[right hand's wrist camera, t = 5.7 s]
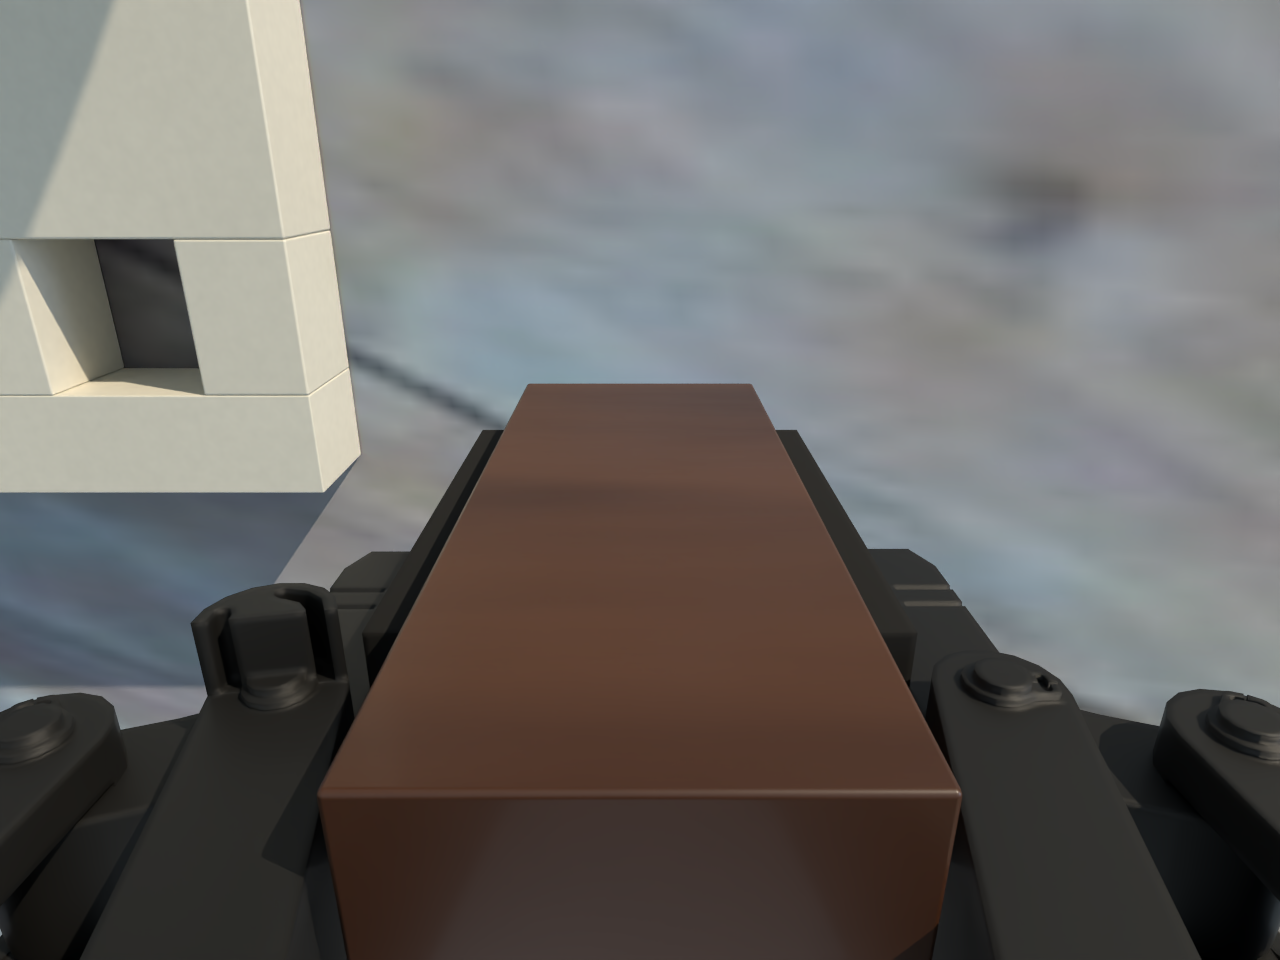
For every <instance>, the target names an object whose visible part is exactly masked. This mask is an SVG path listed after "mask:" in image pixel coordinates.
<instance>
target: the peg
mask: <svg viewBox="0 0 1280 960" xmlns="http://www.w3.org/2000/svg"><path fill="white" fill-rule="evenodd" d="M317 801H318V807H319V812H320V817H321V823H322V828H323V834H324V839H325V844H326V850H327V855H328V860H329V866H330V871H331V877H332V882H333V887H334V893H335V898H336V903H337V909H338V914H339V919H340V925H341V930H342V936H343V941H344V946H345V952H346V957H347V960H932V957H933V952H934V947H935V941H936V936H937V930H938V925H939V920H940V914H941V909H942V904H943V898H944V893H945V887H946V882H947V877H948V871H949V866H950V860H951V855H952V850H953V844H954V839H955V834H956V828H957V823H958V817H959V812H960V807H961V801H962V791H961V789H960V787H959V785H958V783H957V781H956V779H955V777H954V775H953V773H952V771H951V769H950V767H949V765H948V763H947V761H946V760H945V758H944V756H943V754H942V752H941V750H940V748H939V746H938V744H937V742H936V740H935V738H934V736H933V734H932V732H931V730H930V729H929V727H928V725H927V723H926V721H925V719H924V717H923V715H922V713H921V711H920V709H919V707H918V705H917V703H916V701H915V699H914V698H913V696H912V694H911V692H910V690H909V688H908V686H907V684H906V682H905V680H904V678H903V676H902V674H901V672H900V670H899V669H898V667H897V665H896V663H895V661H894V659H893V657H892V655H891V653H890V651H889V649H888V647H887V645H886V643H885V641H884V639H883V638H882V636H881V634H880V632H879V630H878V628H877V626H876V624H875V622H874V620H873V618H872V616H871V614H870V612H869V610H868V608H867V607H866V605H865V603H864V601H863V599H862V597H861V595H860V593H859V591H858V589H857V587H856V585H855V583H854V581H853V579H852V578H851V576H850V574H849V572H848V570H847V568H846V566H845V564H844V562H843V560H842V558H841V556H840V554H839V552H838V550H837V548H836V547H835V545H834V543H833V541H832V539H831V537H830V535H829V533H828V531H827V529H826V527H825V525H824V523H823V521H822V519H821V517H820V516H819V514H818V512H817V510H816V508H815V506H814V504H813V502H812V500H811V498H810V496H809V494H808V492H807V490H806V488H805V486H804V485H803V483H802V481H801V479H800V477H799V475H798V473H797V471H796V469H795V467H794V465H793V463H792V461H791V459H790V457H789V456H788V454H787V452H786V450H785V448H784V446H783V444H782V442H781V440H780V438H779V436H778V434H777V432H776V430H775V428H774V426H773V425H772V423H771V421H770V419H769V417H768V415H767V413H766V411H765V409H764V407H763V405H762V403H761V401H760V399H759V397H758V395H757V394H756V392H755V390H754V388H753V386H752V385H751V384H528V385H527V387H526V389H525V391H524V393H523V395H522V396H521V398H520V400H519V402H518V404H517V406H516V408H515V410H514V412H513V414H512V416H511V418H510V420H509V422H508V424H507V425H506V427H505V429H504V431H503V433H502V435H501V437H500V439H499V441H498V443H497V445H496V447H495V449H494V451H493V452H492V454H491V456H490V458H489V460H488V462H487V464H486V466H485V468H484V470H483V472H482V474H481V476H480V478H479V480H478V481H477V483H476V485H475V487H474V489H473V491H472V493H471V495H470V497H469V499H468V501H467V503H466V505H465V507H464V509H463V510H462V512H461V514H460V516H459V518H458V520H457V522H456V524H455V526H454V528H453V530H452V532H451V534H450V536H449V537H448V539H447V541H446V543H445V545H444V547H443V549H442V551H441V553H440V555H439V557H438V559H437V561H436V563H435V565H434V566H433V568H432V570H431V572H430V574H429V576H428V578H427V580H426V582H425V584H424V586H423V588H422V590H421V592H420V594H419V595H418V597H417V599H416V601H415V603H414V605H413V607H412V609H411V611H410V613H409V615H408V617H407V619H406V621H405V622H404V624H403V626H402V628H401V630H400V632H399V634H398V636H397V638H396V640H395V642H394V644H393V646H392V648H391V650H390V651H389V653H388V655H387V657H386V659H385V661H384V663H383V665H382V667H381V669H380V671H379V673H378V675H377V677H376V678H375V680H374V682H373V684H372V686H371V688H370V690H369V692H368V694H367V696H366V698H365V700H364V702H363V704H362V706H361V707H360V709H359V711H358V713H357V715H356V717H355V719H354V721H353V723H352V725H351V727H350V729H349V731H348V733H347V735H346V736H345V738H344V740H343V742H342V744H341V746H340V748H339V750H338V752H337V754H336V756H335V758H334V760H333V762H332V763H331V765H330V767H329V769H328V771H327V773H326V775H325V777H324V779H323V781H322V783H321V785H320V787H319V789H318V791H317Z"/></svg>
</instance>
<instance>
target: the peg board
mask: <svg viewBox="0 0 1280 960" xmlns="http://www.w3.org/2000/svg"><path fill="white" fill-rule="evenodd" d="M329 229H330V224H329V217H328V210H327V202H326V195H325V187H324V180H323V172H322V165H321V158H320V150H319V143H318V135H317V128H316V121H315V113H314V106H313V98H312V91H311V83H310V76H309V69H308V61H307V54H306V46H305V39H304V32H303V24H302V17H301V9H300V2H299V0H0V493H324V492H325V491H326V490H327V489H328V488H329V487H330V486H331V485H332V484H333V483H334V482H335V481H336V480H337V479H338V477H339V476H340V475H341V474H342V473H343V472H344V471H345V470H346V469H347V468H348V467H349V466H350V465H351V464H352V463H353V462H354V461H355V460H356V459H357V458H358V457H359V456H360V455H361V452H360V445H359V437H358V430H357V423H356V415H355V408H354V400H353V393H352V385H351V378H350V371H349V368H348V358H347V351H346V343H345V336H344V329H343V321H342V314H341V306H340V299H339V291H338V284H337V277H336V269H335V262H334V254H333V247H332V240H331V232H330V231H329ZM94 239H175V240H174V246H175V251H176V256H177V261H178V266H179V271H180V276H181V281H182V286H183V291H184V295H185V300H186V305H187V310H188V315H189V320H190V325H191V330H192V335H193V340H194V345H195V349H196V354H197V359H198V364H199V368H124V364H123V360H122V355H121V351H120V347H119V343H118V339H117V334H116V330H115V326H114V322H113V318H112V313H111V309H110V305H109V301H108V297H107V292H106V288H105V284H104V280H103V276H102V272H101V267H100V263H99V259H98V255H97V251H96V246H95V242H94Z"/></svg>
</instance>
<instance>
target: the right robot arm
mask: <svg viewBox="0 0 1280 960" xmlns="http://www.w3.org/2000/svg"><path fill="white" fill-rule="evenodd" d="M503 431H504V430H483V431H482V432H481V434H480V436H479V437H478V439H477V441H476V442H475V444H474V446H473V447H472V449H471V451H470V452H469V454H468V456H467V457H466V459H465V461H464V462H463V464H462V466H461V467H460V469H459V471H458V472H457V474H456V476H455V477H454V479H453V481H452V483H451V484H450V486H449V488H448V489H447V491H446V493H445V494H444V496H443V498H442V499H441V501H440V503H439V504H438V506H437V508H436V509H435V511H434V513H433V514H432V516H431V518H430V519H429V521H428V523H427V524H426V526H425V528H424V529H423V531H422V533H421V534H420V536H419V538H418V539H417V541H416V543H415V545H414V546H413V548H412V550H411V551H410V552H370V553H369V554H367V555H366V556H364V557H363V558H361V559H359V560H358V561H356V562H355V563H353V564H351V565H350V566H348V567H347V568H345V569H344V570H343V572H342V573H341V574H340V576H339V577H338V579H337V580H336V581H335V583H334V584H333V585H332V587H331V588H330V592H329V591H328V590H326V589H325V588H323V587H318V586H314V585H310V584H306V583H279V584H273V585H267V586H261V587H255V588H251V589H248V590H245V591H242V592H239V593H236V594H233V595H230V596H227V597H225V598H223V599H222V600H220V601H218V602H216V603H214V604H213V605H211V606H209V607H207V608H205V609H204V610H203V611H202V612H201V613H200V614H199V615H198V616H197V617H196V618H195V619H194V620H193V621H192V622H191V627H192V631H193V636H194V640H195V644H196V648H197V653H198V657H199V661H200V665H201V670H202V674H203V678H204V682H205V687H206V691H207V695H208V696H207V698H206V701H205V703H204V705H203V707H202V709H201V711H200V713H199V714H195V715H191V716H187V717H183V718H179V719H174V720H169V721H164V722H159V723H154V724H149V725H144V726H139V727H133V728H128V729H123V730H120V726H119V723H118V719H117V716H116V713H115V709H114V706H113V705H112V704H110V703H109V702H108V701H107V700H106V699H104V698H103V697H102V696H96V695H90V694H85V693H72V694H61V695H49V696H44V697H38V698H37V699H36V700H33V699H31V700H27V701H24V702H21V703H18V704H16V705H14V706H12V707H11V708H9V709H7V710H4V711H2V712H0V929H1V932H2V935H1V936H0V960H347V957H346V952H345V946H344V941H343V936H342V930H341V925H340V919H339V914H338V909H337V903H336V898H335V893H334V887H333V882H332V877H331V871H330V866H329V860H328V855H327V850H326V844H325V839H324V834H323V828H322V823H321V817H320V812H319V807H318V801H317V791H318V789H319V787H320V785H321V783H322V781H323V779H324V777H325V775H326V773H327V771H328V769H329V767H330V765H331V763H332V762H333V760H334V758H335V756H336V754H337V752H338V750H339V748H340V746H341V744H342V742H343V740H344V738H345V736H346V735H347V733H348V731H349V729H350V727H351V725H352V723H353V721H354V719H355V717H356V715H357V713H358V711H359V709H360V707H361V706H362V704H363V702H364V700H365V698H366V696H367V694H368V692H369V690H370V688H371V686H372V684H373V682H374V680H375V678H376V677H377V675H378V673H379V671H380V669H381V667H382V665H383V663H384V661H385V659H386V657H387V655H388V653H389V651H390V650H391V648H392V646H393V644H394V642H395V640H396V638H397V636H398V634H399V632H400V630H401V628H402V626H403V624H404V622H405V621H406V619H407V617H408V615H409V613H410V611H411V609H412V607H413V605H414V603H415V601H416V599H417V597H418V595H419V594H420V592H421V590H422V588H423V586H424V584H425V582H426V580H427V578H428V576H429V574H430V572H431V570H432V568H433V566H434V565H435V563H436V561H437V559H438V557H439V555H440V553H441V551H442V549H443V547H444V545H445V543H446V541H447V539H448V537H449V536H450V534H451V532H452V530H453V528H454V526H455V524H456V522H457V520H458V518H459V516H460V514H461V512H462V510H463V509H464V507H465V505H466V503H467V501H468V499H469V497H470V495H471V493H472V491H473V489H474V487H475V485H476V483H477V481H478V480H479V478H480V476H481V474H482V472H483V470H484V468H485V466H486V464H487V462H488V460H489V458H490V456H491V454H492V452H493V451H494V449H495V447H496V445H497V443H498V441H499V439H500V437H501V435H502V433H503ZM776 432H777V434H778V436H779V438H780V440H781V442H782V444H783V446H784V448H785V450H786V452H787V454H788V456H789V457H790V459H791V461H792V463H793V465H794V467H795V469H796V471H797V473H798V475H799V477H800V479H801V481H802V483H803V485H804V486H805V488H806V490H807V492H808V494H809V496H810V498H811V500H812V502H813V504H814V506H815V508H816V510H817V512H818V514H819V516H820V517H821V519H822V521H823V523H824V525H825V527H826V529H827V531H828V533H829V535H830V537H831V539H832V541H833V543H834V545H835V547H836V548H837V550H838V552H839V554H840V556H841V558H842V560H843V562H844V564H845V566H846V568H847V570H848V572H849V574H850V576H851V578H852V579H853V581H854V583H855V585H856V587H857V589H858V591H859V593H860V595H861V597H862V599H863V601H864V603H865V605H866V607H867V608H868V610H869V612H870V614H871V616H872V618H873V620H874V622H875V624H876V626H877V628H878V630H879V632H880V634H881V636H882V638H883V639H884V641H885V643H886V645H887V647H888V649H889V651H890V653H891V655H892V657H893V659H894V661H895V663H896V665H897V667H898V669H899V670H900V672H901V674H902V676H903V678H904V680H905V682H906V684H907V686H908V688H909V690H910V692H911V694H912V696H913V698H914V699H915V701H916V703H917V705H918V707H919V709H920V711H921V713H922V715H923V717H924V719H925V721H926V723H927V725H928V727H929V729H930V730H931V732H932V734H933V736H934V738H935V740H936V742H937V744H938V746H939V748H940V750H941V752H942V754H943V756H944V758H945V760H946V761H947V763H948V765H949V767H950V769H951V771H952V773H953V775H954V777H955V779H956V781H957V783H958V785H959V787H960V789H961V791H962V801H961V807H960V812H959V817H958V823H957V828H956V834H955V839H954V844H953V850H952V855H951V860H950V866H949V871H948V877H947V882H946V887H945V893H944V898H943V904H942V909H941V914H940V920H939V925H938V930H937V936H936V941H935V947H934V952H933V957H932V960H1280V708H1278V707H1276V706H1274V705H1271V704H1270V703H1268V702H1267V701H1265V700H1262V699H1259V698H1256V697H1253V696H1249V695H1247V696H1244V695H1243V694H1242V693H1236V692H1231V691H1217V690H1206V689H1197V690H1191V691H1185V692H1180V693H1178V694H1176V695H1175V696H1174V697H1173V698H1171V699H1170V700H1169V701H1168V702H1167V703H1166V707H1165V710H1164V714H1163V717H1162V721H1161V724H1160V726H1155V725H1150V724H1145V723H1139V722H1134V721H1129V720H1124V719H1119V718H1114V717H1109V716H1103V715H1099V714H1095V713H1091V712H1087V711H1083V710H1080V709H1079V707H1078V705H1077V703H1076V701H1075V699H1074V697H1073V695H1072V694H1071V693H1070V691H1069V690H1068V689H1067V688H1066V686H1065V685H1064V684H1063V683H1062V681H1061V680H1060V679H1058V678H1057V677H1055V676H1054V675H1052V674H1051V673H1049V672H1048V671H1046V670H1045V669H1043V668H1042V667H1040V666H1039V665H1036V664H1034V663H1031V662H1029V661H1026V660H1024V659H1021V658H1019V657H1016V656H1013V655H1008V654H1003V653H999V652H998V650H997V649H996V648H995V646H994V645H993V643H992V642H991V641H990V639H989V638H988V637H987V635H986V634H985V633H984V631H983V630H982V629H981V627H980V626H979V625H978V623H977V622H976V621H975V619H974V618H973V616H972V615H971V614H970V612H969V611H968V610H967V608H966V607H965V606H962V602H961V600H960V599H959V598H958V596H957V595H956V593H955V592H954V591H953V590H950V585H949V584H948V583H947V581H946V580H945V579H944V577H943V576H942V575H941V573H940V572H939V571H938V569H937V568H936V566H934V565H933V564H931V563H930V562H928V561H926V560H925V559H923V558H922V557H920V556H918V555H917V554H915V553H914V552H912V551H910V550H909V549H867V547H866V545H865V544H864V542H863V540H862V539H861V537H860V535H859V534H858V532H857V530H856V529H855V527H854V525H853V524H852V522H851V520H850V519H849V517H848V515H847V514H846V512H845V510H844V509H843V507H842V505H841V504H840V502H839V500H838V499H837V497H836V495H835V494H834V492H833V490H832V488H831V487H830V485H829V483H828V482H827V480H826V478H825V477H824V475H823V473H822V472H821V470H820V468H819V467H818V465H817V463H816V462H815V460H814V458H813V457H812V455H811V453H810V452H809V450H808V448H807V447H806V445H805V443H804V442H803V440H802V438H801V437H800V435H799V433H798V431H797V430H776Z"/></svg>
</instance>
